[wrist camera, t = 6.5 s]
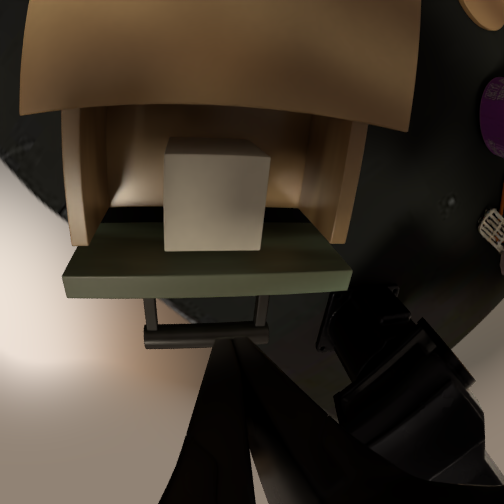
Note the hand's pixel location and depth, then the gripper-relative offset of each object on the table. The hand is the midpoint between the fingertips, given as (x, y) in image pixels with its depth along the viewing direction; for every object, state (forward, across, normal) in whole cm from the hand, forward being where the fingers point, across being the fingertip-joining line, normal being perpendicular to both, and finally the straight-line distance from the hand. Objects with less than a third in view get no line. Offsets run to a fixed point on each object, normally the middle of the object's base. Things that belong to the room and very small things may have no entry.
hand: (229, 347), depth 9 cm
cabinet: (+12, 0, -13) cm, 17 cm away
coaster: (+12, -20, -20) cm, 31 cm away
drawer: (+11, 0, -2) cm, 11 cm away
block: (+10, 0, -2) cm, 10 cm away
